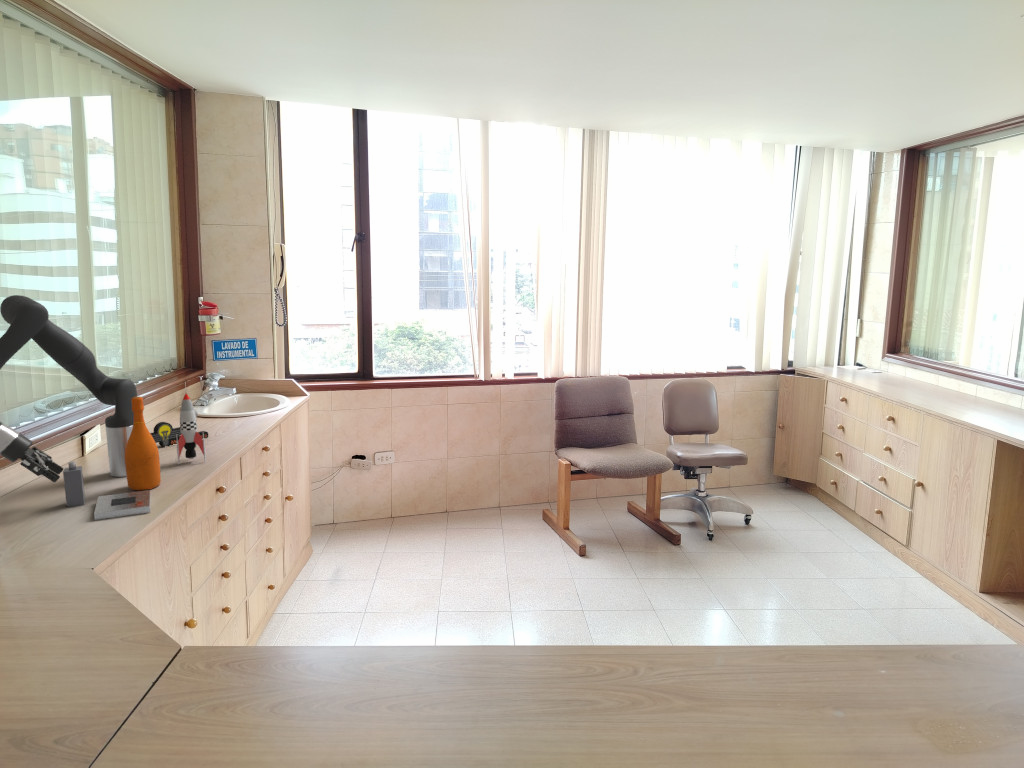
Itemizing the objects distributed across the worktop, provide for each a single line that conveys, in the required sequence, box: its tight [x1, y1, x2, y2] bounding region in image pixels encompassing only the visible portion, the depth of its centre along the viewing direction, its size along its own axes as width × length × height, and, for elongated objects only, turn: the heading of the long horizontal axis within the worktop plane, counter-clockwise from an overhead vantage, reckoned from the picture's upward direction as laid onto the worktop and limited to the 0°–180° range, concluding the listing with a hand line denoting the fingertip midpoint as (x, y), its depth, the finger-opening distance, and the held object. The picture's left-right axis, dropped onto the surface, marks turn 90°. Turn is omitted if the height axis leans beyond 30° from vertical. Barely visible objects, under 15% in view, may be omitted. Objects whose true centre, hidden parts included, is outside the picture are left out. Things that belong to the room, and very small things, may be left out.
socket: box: [93, 489, 152, 521], centre depth 205 cm, size 16×14×3 cm
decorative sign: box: [150, 421, 209, 448], centre depth 276 cm, size 27×2×10 cm, turn 146°
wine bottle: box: [125, 396, 162, 491], centre depth 221 cm, size 10×10×30 cm
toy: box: [176, 381, 207, 465], centre depth 249 cm, size 9×8×30 cm
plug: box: [62, 461, 86, 508], centre depth 207 cm, size 4×4×13 cm
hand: (59, 475), depth 205 cm, fingers open, 8 cm apart
